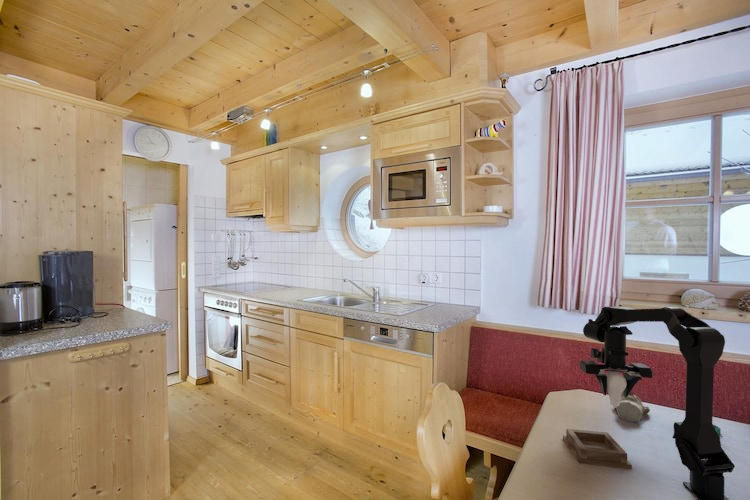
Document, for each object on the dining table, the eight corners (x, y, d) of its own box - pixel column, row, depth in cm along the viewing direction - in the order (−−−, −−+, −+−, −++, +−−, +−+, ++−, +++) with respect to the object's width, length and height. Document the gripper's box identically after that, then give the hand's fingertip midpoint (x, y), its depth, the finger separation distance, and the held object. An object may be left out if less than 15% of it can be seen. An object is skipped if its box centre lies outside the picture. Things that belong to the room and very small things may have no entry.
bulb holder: (631, 468, 94) (631, 455, 94) (578, 463, 97) (579, 450, 97) (608, 442, 107) (609, 431, 107) (562, 438, 110) (562, 427, 110)
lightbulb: (598, 404, 112) (599, 370, 112) (610, 401, 115) (610, 367, 115) (619, 412, 107) (619, 376, 107) (631, 409, 109) (631, 373, 109)
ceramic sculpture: (610, 393, 123) (615, 383, 134) (609, 418, 123) (615, 406, 134) (648, 402, 116) (650, 391, 127) (647, 428, 116) (650, 415, 127)
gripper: (634, 341, 117) (634, 388, 117) (573, 338, 121) (573, 384, 120) (654, 350, 106) (654, 402, 106) (586, 347, 110) (586, 397, 109)
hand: (614, 395), depth 111 cm, fingers closed on lightbulb, 5 cm apart
